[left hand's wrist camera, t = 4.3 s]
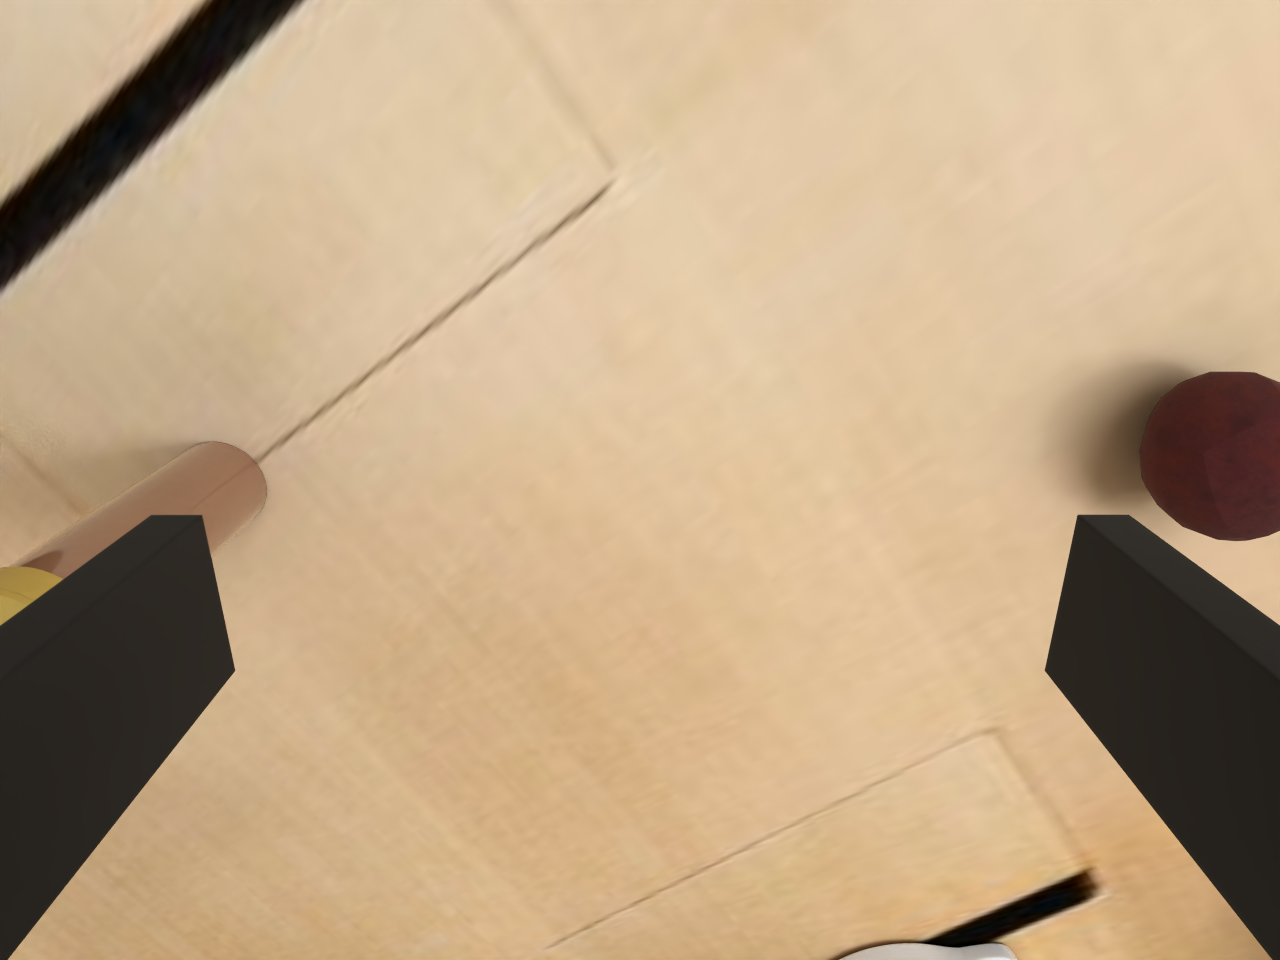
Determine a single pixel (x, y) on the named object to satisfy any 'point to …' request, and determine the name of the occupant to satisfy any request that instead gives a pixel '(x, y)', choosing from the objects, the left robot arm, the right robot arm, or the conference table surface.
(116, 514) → the jar
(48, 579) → the lid
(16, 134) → the conference table surface
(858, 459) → the conference table surface
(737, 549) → the conference table surface
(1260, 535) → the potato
